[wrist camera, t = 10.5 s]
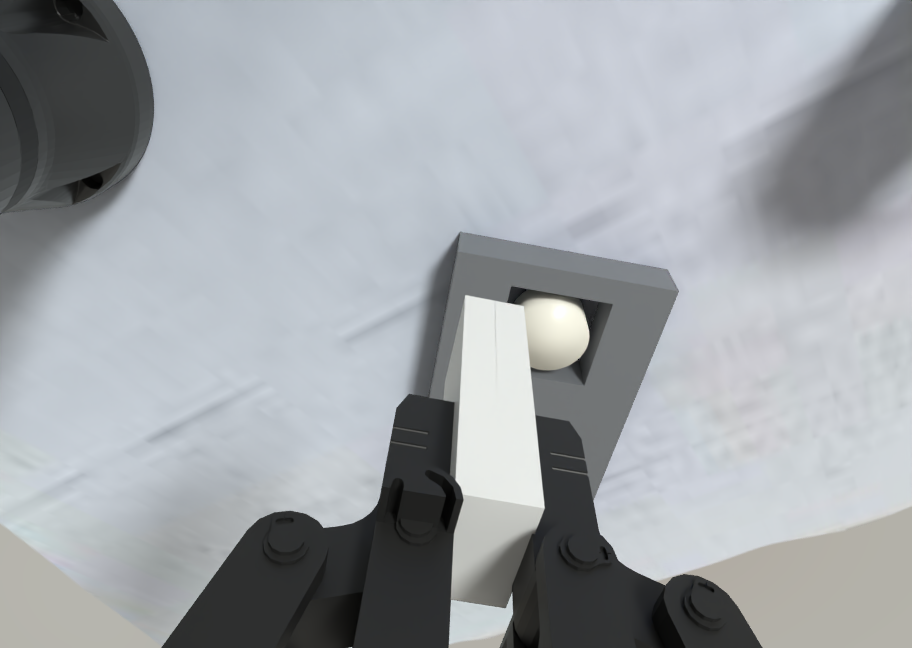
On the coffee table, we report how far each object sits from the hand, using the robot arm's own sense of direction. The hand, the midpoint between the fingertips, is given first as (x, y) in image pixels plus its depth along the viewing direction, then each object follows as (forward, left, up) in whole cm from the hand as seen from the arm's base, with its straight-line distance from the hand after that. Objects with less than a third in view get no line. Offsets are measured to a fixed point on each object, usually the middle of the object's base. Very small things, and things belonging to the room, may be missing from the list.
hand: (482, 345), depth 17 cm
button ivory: (+7, -13, -25) cm, 29 cm away
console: (+7, -23, -25) cm, 34 cm away
